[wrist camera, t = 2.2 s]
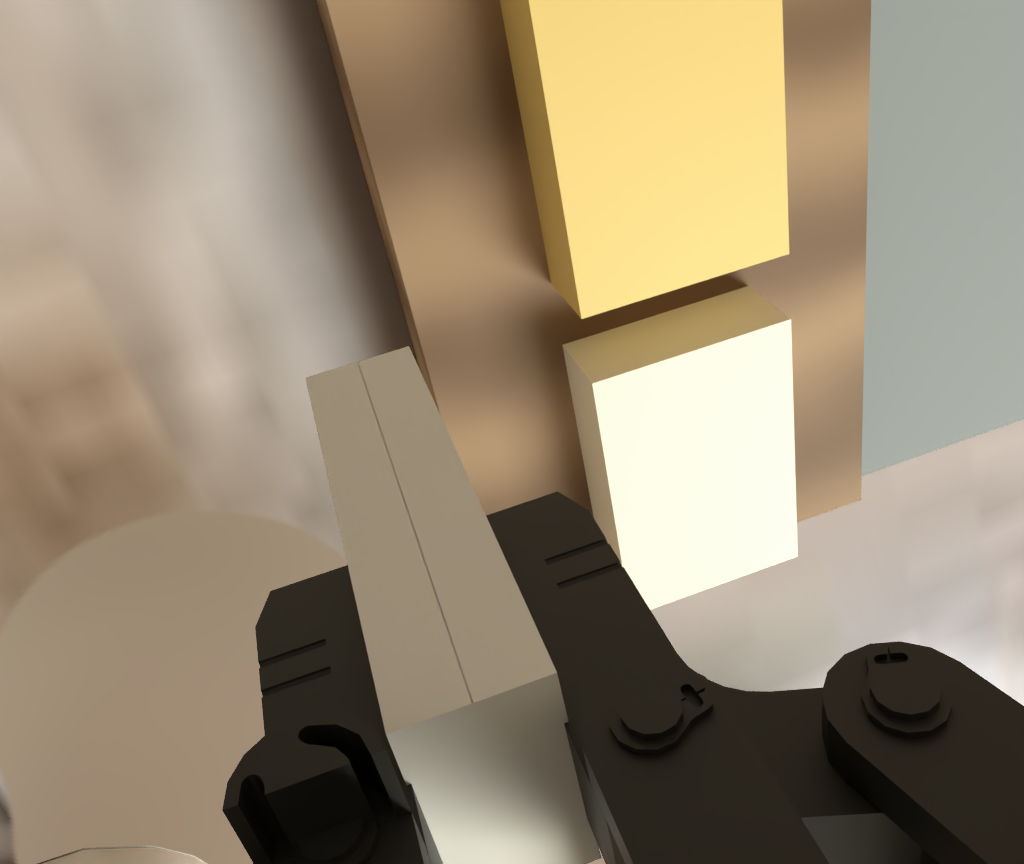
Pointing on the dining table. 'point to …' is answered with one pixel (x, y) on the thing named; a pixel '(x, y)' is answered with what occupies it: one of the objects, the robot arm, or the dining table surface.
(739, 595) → the dining table surface
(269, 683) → the robot arm
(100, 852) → the teardrop
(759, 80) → the mustard tile
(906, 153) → the slate mat
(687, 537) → the ivory tile
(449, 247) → the walnut deck
